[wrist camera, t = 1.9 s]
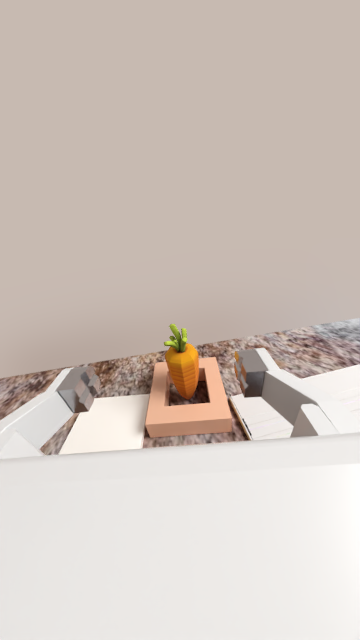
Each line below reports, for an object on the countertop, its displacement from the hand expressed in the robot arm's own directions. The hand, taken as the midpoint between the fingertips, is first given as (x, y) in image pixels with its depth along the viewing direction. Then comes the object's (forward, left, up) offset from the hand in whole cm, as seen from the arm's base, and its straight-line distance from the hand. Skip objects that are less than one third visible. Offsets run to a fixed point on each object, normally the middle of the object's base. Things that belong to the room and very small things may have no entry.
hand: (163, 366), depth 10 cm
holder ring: (0, +12, -20) cm, 24 cm away
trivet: (-13, +7, -20) cm, 25 cm away
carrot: (0, +12, -20) cm, 24 cm away
